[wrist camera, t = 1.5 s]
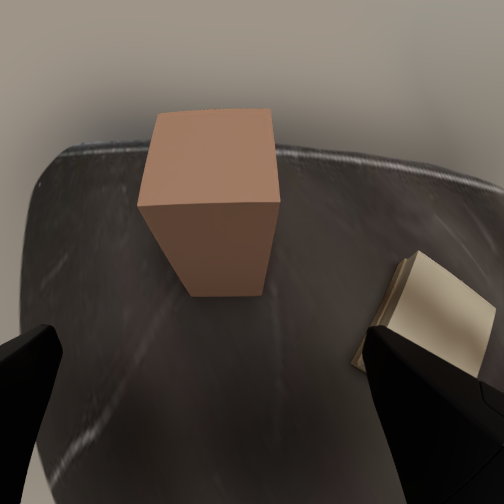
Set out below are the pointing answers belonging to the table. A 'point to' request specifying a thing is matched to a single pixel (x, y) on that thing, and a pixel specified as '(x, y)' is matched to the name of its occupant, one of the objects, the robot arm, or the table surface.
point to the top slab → (439, 314)
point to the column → (213, 198)
